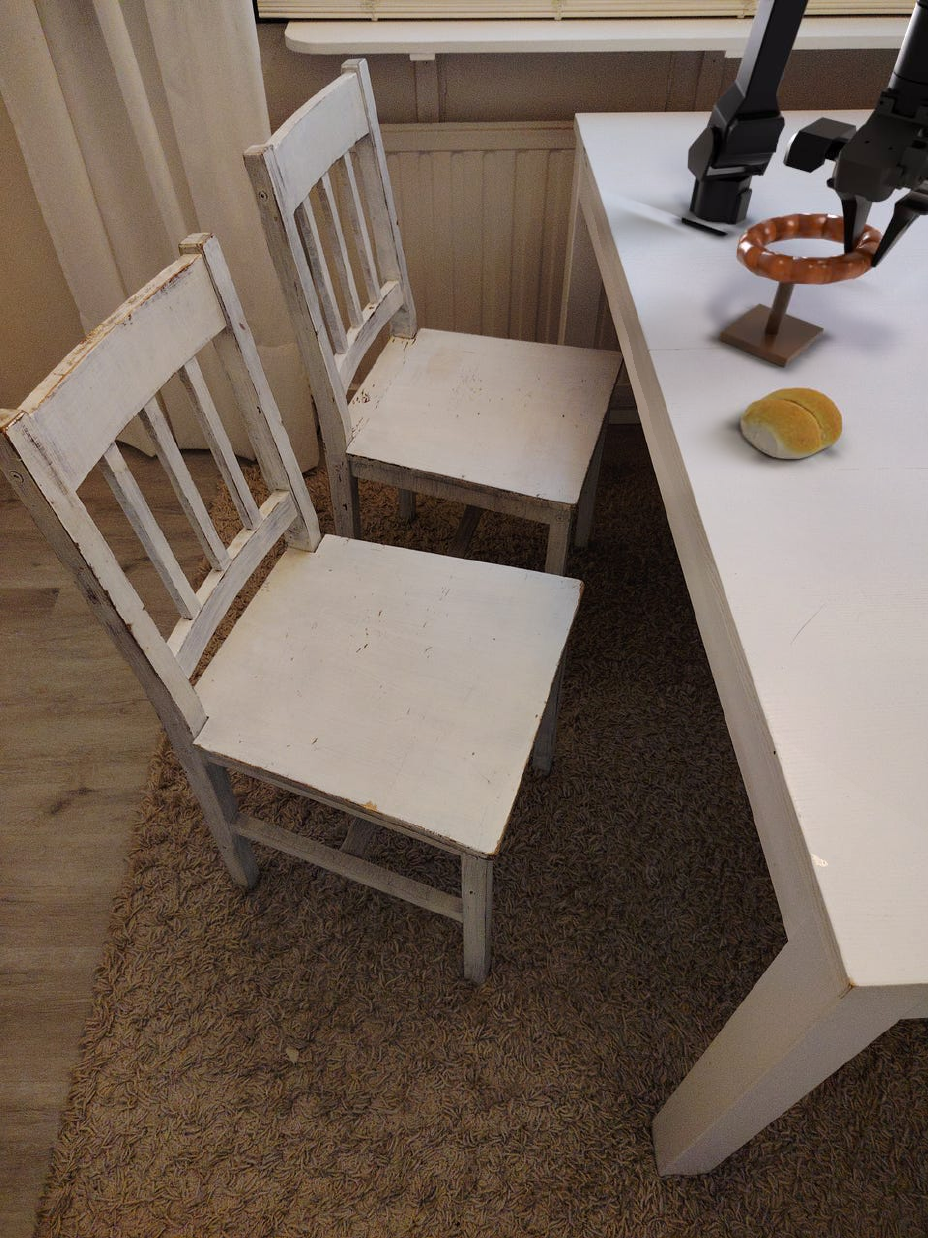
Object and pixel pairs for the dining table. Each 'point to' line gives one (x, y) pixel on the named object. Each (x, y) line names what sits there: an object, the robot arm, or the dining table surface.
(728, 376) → the dining table surface
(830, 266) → the segmented orange ring
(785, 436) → the bread roll
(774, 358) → the stand
